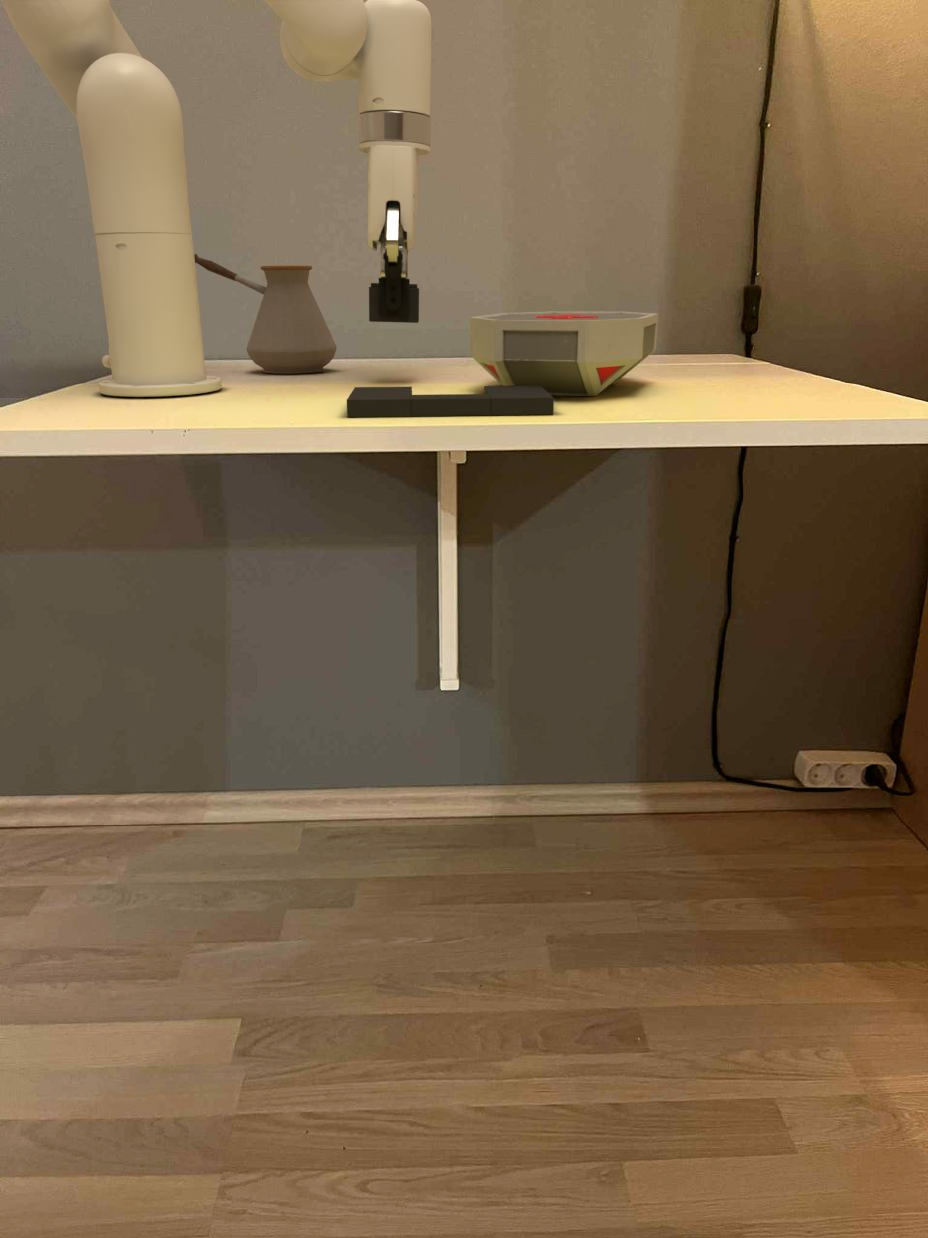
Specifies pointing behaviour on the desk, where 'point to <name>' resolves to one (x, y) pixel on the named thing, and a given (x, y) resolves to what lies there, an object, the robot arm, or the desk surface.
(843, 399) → the desk surface
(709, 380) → the desk surface
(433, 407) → the base pad
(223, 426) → the desk surface
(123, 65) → the robot arm
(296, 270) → the coffee pot
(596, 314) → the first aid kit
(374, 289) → the black squarish block
